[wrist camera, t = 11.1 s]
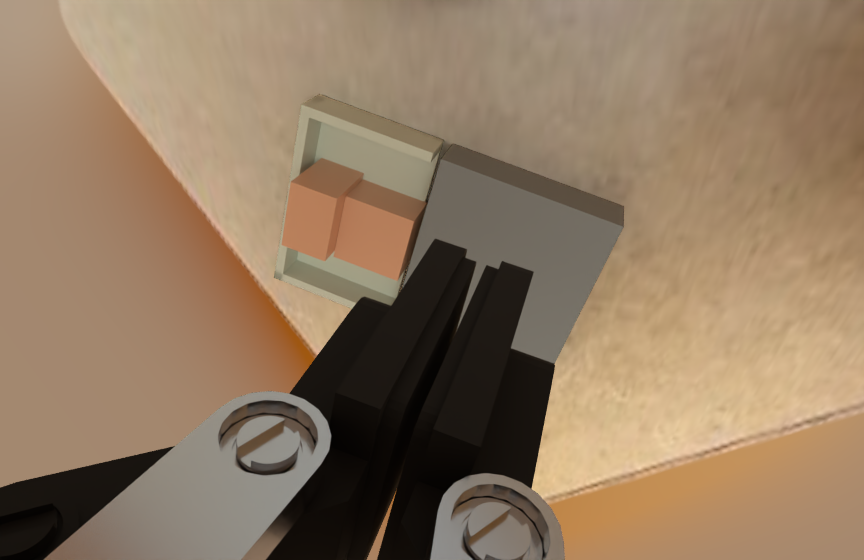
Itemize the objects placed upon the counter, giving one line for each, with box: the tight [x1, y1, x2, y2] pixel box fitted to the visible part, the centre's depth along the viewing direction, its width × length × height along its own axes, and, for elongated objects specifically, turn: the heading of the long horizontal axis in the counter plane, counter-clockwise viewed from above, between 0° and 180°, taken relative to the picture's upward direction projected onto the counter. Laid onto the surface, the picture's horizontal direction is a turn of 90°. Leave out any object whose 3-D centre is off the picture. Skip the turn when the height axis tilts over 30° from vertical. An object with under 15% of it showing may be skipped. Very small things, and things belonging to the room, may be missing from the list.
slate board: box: [403, 144, 624, 364], centre depth 40 cm, size 11×13×3 cm
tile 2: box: [333, 179, 427, 281], centre depth 41 cm, size 4×4×3 cm
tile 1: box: [282, 158, 364, 261], centre depth 40 cm, size 4×4×3 cm
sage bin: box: [274, 94, 444, 309], centre depth 41 cm, size 8×13×3 cm, turn 163°
